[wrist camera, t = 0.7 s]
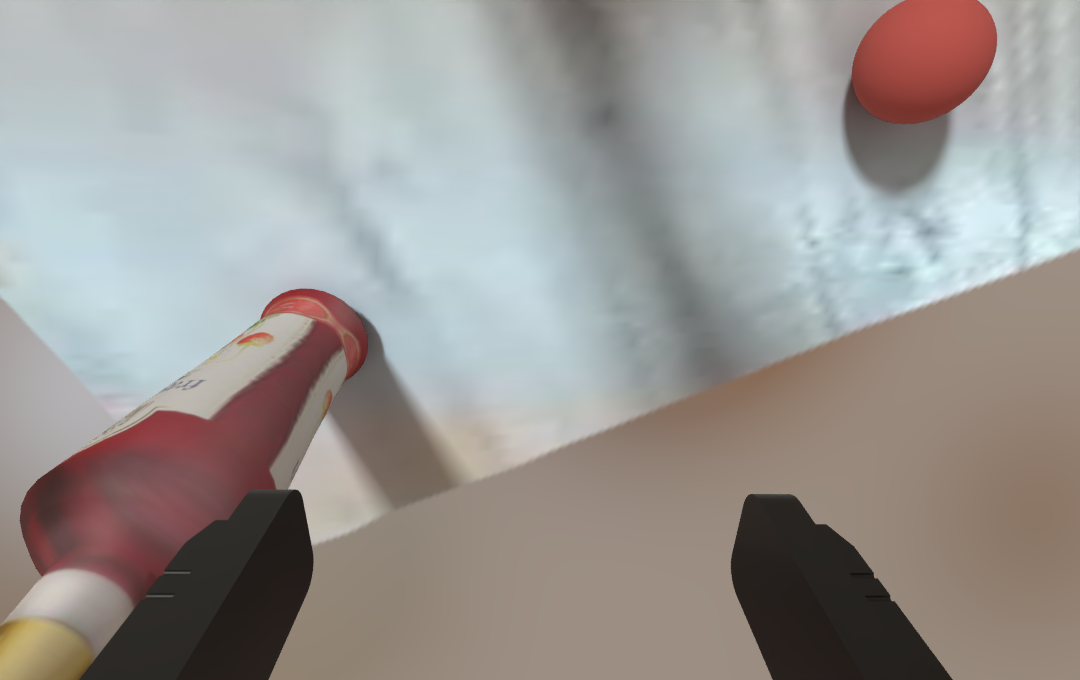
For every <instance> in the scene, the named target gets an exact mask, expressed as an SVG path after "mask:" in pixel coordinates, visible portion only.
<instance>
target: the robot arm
mask: <svg viewBox="0 0 1080 680" xmlns="http://www.w3.org/2000/svg"><path fill="white" fill-rule="evenodd" d="M312 572H313V551H312V546H311V540H310V535H309V530H308V524H307V519H306V514H305V508H304V503H303V499H302V495H301V493H300V492H299V491H298V490H267V489H254V490H251V491H249V492H248V493H247V494H246V495H245V497H244V498H243V499H242V501H241V502H240V504H239V505H238V506H237V508H236V509H235V511H234V512H233V513H232V515H231V516H230V518H229V519H228V520H215V521H213V522H212V523H211V524H209V525H208V526H207V527H205V528H204V529H203V530H201V531H200V532H199V533H197V534H196V535H195V536H193V537H192V538H191V539H189V540H188V541H187V542H186V543H185V544H184V545H183V546H182V548H181V549H180V550H179V551H178V553H177V554H176V555H175V557H174V558H173V559H172V560H171V562H170V563H169V564H168V566H167V567H166V568H165V569H164V574H163V576H159V577H158V579H157V580H156V581H155V582H154V584H153V585H152V586H151V588H150V589H149V590H148V591H147V593H146V598H145V599H141V600H140V602H139V603H138V604H137V606H136V607H135V608H134V610H133V611H132V612H131V613H130V615H129V616H128V617H127V619H126V620H125V621H124V622H123V624H122V625H121V626H120V628H119V629H118V630H117V631H116V633H115V634H114V635H113V637H112V638H111V639H110V641H109V642H108V643H107V644H106V646H105V647H104V648H103V650H102V651H101V652H100V653H99V655H98V656H97V657H96V659H95V660H94V661H93V662H92V664H91V665H90V666H89V668H88V669H87V670H86V672H85V673H84V674H83V675H82V677H81V678H80V679H79V680H268V679H269V677H270V675H271V673H272V670H273V668H274V666H275V664H276V661H277V659H278V657H279V655H280V653H281V650H282V648H283V646H284V644H285V641H286V639H287V637H288V634H289V632H290V630H291V628H292V625H293V623H294V620H295V619H296V617H297V614H298V612H299V610H300V608H301V605H302V603H303V601H304V599H305V596H306V594H307V592H308V589H309V586H310V582H311V578H312ZM731 574H732V581H733V585H734V589H735V592H736V595H737V597H738V600H739V602H740V604H741V607H742V609H743V611H744V614H745V616H746V618H747V620H748V623H749V625H750V628H751V630H752V632H753V634H754V637H755V639H756V641H757V644H758V646H759V649H760V651H761V653H762V656H763V658H764V660H765V662H766V665H767V667H768V670H769V672H770V674H771V677H772V679H773V680H952V678H951V677H950V676H949V674H948V673H947V671H946V670H945V669H944V667H943V666H942V665H941V663H940V662H939V661H938V659H937V658H936V657H935V655H934V654H933V653H932V651H931V650H930V649H929V647H928V646H927V644H926V643H925V642H924V640H923V639H922V638H921V637H920V635H919V634H918V632H917V631H916V630H915V629H914V627H913V626H912V624H911V623H910V622H909V620H908V619H907V617H906V616H905V615H904V613H903V612H902V611H901V609H900V608H899V607H898V605H897V604H896V603H895V602H894V601H891V599H890V595H889V593H888V592H887V590H886V589H885V588H884V586H883V585H882V584H881V582H880V581H879V580H878V579H875V578H874V573H873V572H872V570H871V569H870V567H869V566H868V565H867V564H866V562H865V561H864V559H863V558H862V557H861V555H860V554H859V553H858V551H857V550H856V549H855V547H854V546H853V545H851V544H850V543H849V542H848V541H846V540H845V539H844V538H842V537H841V536H840V535H839V534H838V533H836V532H835V531H834V530H832V529H831V528H830V527H829V526H827V525H824V524H821V525H820V524H819V525H818V524H817V525H816V524H815V523H814V522H813V520H812V519H811V517H810V516H809V514H808V513H807V511H806V510H805V508H804V507H803V506H802V504H801V503H800V501H799V500H798V499H797V498H796V497H795V496H793V495H790V494H787V495H786V494H785V495H784V494H781V495H780V494H750V495H748V496H747V498H746V499H745V502H744V505H743V510H742V514H741V518H740V522H739V527H738V531H737V535H736V540H735V544H734V548H733V553H732V558H731Z"/></svg>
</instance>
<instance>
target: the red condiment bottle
mask: <svg viewBox="0 0 1080 680" xmlns="http://www.w3.org/2000/svg"><path fill="white" fill-rule="evenodd" d="M367 349H368V340H367V334H366V331H365V328H364V325H363V324H362V322H361V320H360V318H359V317H358V315H357V314H356V313H355V312H354V310H353V309H352V308H351V307H349V306H348V305H347V304H346V303H345V302H344V301H342V300H340V299H339V298H337V297H335V296H334V295H331V294H329V293H326V292H324V291H319V290H315V289H296V290H290V291H288V292H285V293H282V294H280V295H279V296H277V297H276V298H274V299H273V300H272V301H271V302H270V303H269V304H268V305H267V306H266V308H265V309H264V311H263V313H262V315H261V319H260V320H259V321H258V322H256V323H255V324H254V325H253V326H251V327H250V328H249V329H247V330H246V331H245V332H244V333H242V334H241V335H240V336H238V337H237V338H236V339H234V340H233V341H232V342H230V343H229V344H227V345H226V346H225V347H223V348H222V349H221V350H219V351H218V352H217V353H215V354H214V355H213V356H211V357H210V358H208V359H207V360H206V361H204V362H203V363H202V364H200V365H199V366H197V367H196V368H194V369H193V370H191V371H190V372H188V373H187V374H186V375H184V376H183V377H181V378H180V379H178V380H177V381H175V382H174V383H172V384H171V385H169V386H168V387H166V388H165V389H163V390H162V391H161V392H159V393H158V394H156V395H155V396H153V397H152V398H150V399H149V400H147V401H146V402H144V403H143V404H141V405H140V406H139V407H137V408H136V409H135V410H133V411H132V412H131V413H129V414H128V415H127V416H125V417H124V418H122V419H121V420H120V421H118V422H117V423H116V424H114V425H113V426H112V427H110V428H109V429H108V430H106V431H105V432H104V433H102V434H101V435H100V436H98V437H97V438H95V439H94V440H93V441H91V442H90V443H89V444H87V445H86V446H85V447H83V448H82V449H80V450H79V451H77V452H76V453H75V454H73V455H72V456H71V457H69V458H68V459H66V460H65V461H63V462H62V463H61V464H59V465H58V466H56V467H55V468H54V469H52V470H51V471H49V472H48V473H47V474H45V475H44V476H42V477H41V478H40V479H38V480H37V481H36V483H35V484H34V485H33V486H32V487H31V488H30V489H29V490H28V492H27V494H26V496H25V498H24V501H23V503H22V505H21V514H20V524H21V529H22V534H23V538H24V541H25V543H26V546H27V548H28V551H29V554H30V556H31V559H32V561H33V563H34V565H35V567H36V569H37V570H38V572H39V573H40V574H41V576H42V577H41V579H40V580H39V581H38V582H37V583H36V584H35V586H34V587H33V588H32V589H31V590H30V591H29V593H28V594H27V595H26V596H25V597H24V598H23V600H22V601H21V602H20V603H19V604H18V606H17V607H16V608H15V609H14V610H13V611H12V613H11V614H10V615H9V616H8V617H7V618H6V620H5V621H4V622H3V623H2V624H1V626H0V680H79V679H80V678H81V677H82V675H83V674H84V673H85V672H86V670H87V669H88V668H89V666H90V665H91V664H92V662H93V661H94V660H95V659H96V657H97V656H98V655H99V653H100V652H101V651H102V650H103V648H104V647H105V646H106V644H107V643H108V642H109V641H110V639H111V638H112V637H113V635H114V634H115V633H116V631H117V630H118V629H119V628H120V626H121V625H122V624H123V622H124V621H125V620H126V619H127V617H128V616H129V615H130V613H131V612H132V611H133V610H134V608H135V607H136V606H137V604H138V603H139V602H140V600H141V599H145V598H146V593H147V591H148V590H149V589H150V588H151V586H152V585H153V584H154V582H155V581H156V580H157V579H158V577H159V576H163V574H164V569H165V568H166V567H167V566H168V564H169V563H170V562H171V560H172V559H173V558H174V557H175V555H176V554H177V553H178V551H179V550H180V549H181V548H182V546H183V545H184V544H185V543H186V542H187V541H188V540H189V539H191V538H192V537H193V536H195V535H196V534H197V533H199V532H200V531H201V530H203V529H204V528H205V527H207V526H208V525H209V524H211V523H212V522H213V521H215V520H228V519H229V518H230V516H231V515H232V513H233V512H234V511H235V509H236V508H237V506H238V505H239V504H240V502H241V501H242V499H243V498H244V497H245V495H246V494H247V493H248V492H249V491H251V490H254V489H267V490H288V488H289V486H290V484H291V482H292V480H293V478H294V476H295V474H296V472H297V470H298V468H299V466H300V464H301V462H302V460H303V458H304V456H305V454H306V451H307V449H308V447H309V445H310V443H311V441H312V439H313V437H314V435H315V433H316V431H317V430H318V428H319V426H320V424H321V422H322V420H323V419H324V417H325V415H326V413H327V411H328V409H329V408H330V406H331V404H332V402H333V400H334V398H335V396H336V395H337V393H338V391H339V390H340V388H341V386H342V384H343V383H344V381H345V380H347V379H349V378H350V377H352V376H353V375H354V374H355V373H356V372H357V371H358V370H359V369H360V368H361V366H362V365H363V363H364V361H365V358H366V355H367Z"/></svg>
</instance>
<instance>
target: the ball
mask: <svg viewBox="0 0 1080 680" xmlns="http://www.w3.org/2000/svg"><path fill="white" fill-rule="evenodd" d="M996 47H997V32H996V27H995V23H994V21H993V19H992V16H991V14H990V13H989V11H988V10H987V9H986V8H985V7H984V6H983V5H982V4H981V3H980V2H979V1H977V0H905V1H903V2H901V3H899V4H898V5H896V6H894V7H893V8H891V9H890V10H888V11H887V12H886V13H885V14H884V15H882V16H881V17H880V18H879V19H878V20H877V21H876V22H875V23H874V24H873V25H872V27H871V28H870V29H869V30H868V32H867V33H866V35H865V36H864V38H863V39H862V41H861V43H860V45H859V47H858V49H857V52H856V55H855V58H854V62H853V67H852V83H853V88H854V91H855V94H856V97H857V98H858V100H859V102H860V103H861V105H862V106H863V107H864V108H865V109H866V110H867V111H868V112H869V113H870V114H872V115H873V116H875V117H877V118H879V119H881V120H884V121H887V122H891V123H896V124H913V123H919V122H924V121H928V120H931V119H934V118H937V117H939V116H941V115H943V114H945V113H948V112H949V111H951V110H953V109H954V108H956V107H957V106H958V105H960V104H961V103H962V102H964V101H965V100H966V99H967V98H968V97H969V96H971V95H972V93H973V92H974V91H975V90H976V89H977V88H978V87H979V85H980V84H981V83H982V81H983V80H984V78H985V77H986V75H987V74H988V72H989V70H990V68H991V65H992V63H993V60H994V57H995V53H996Z"/></svg>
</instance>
